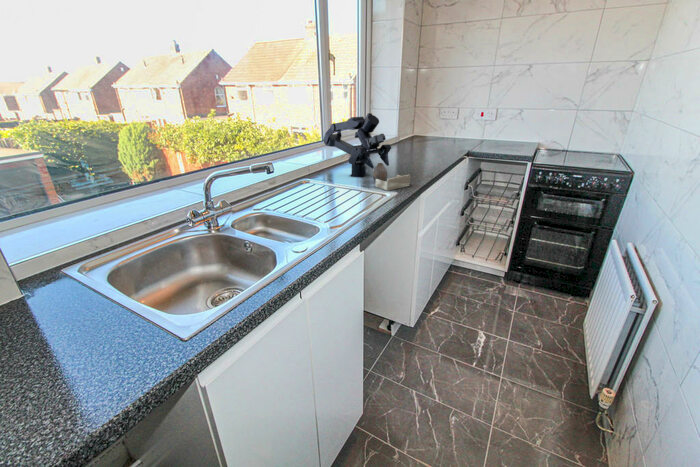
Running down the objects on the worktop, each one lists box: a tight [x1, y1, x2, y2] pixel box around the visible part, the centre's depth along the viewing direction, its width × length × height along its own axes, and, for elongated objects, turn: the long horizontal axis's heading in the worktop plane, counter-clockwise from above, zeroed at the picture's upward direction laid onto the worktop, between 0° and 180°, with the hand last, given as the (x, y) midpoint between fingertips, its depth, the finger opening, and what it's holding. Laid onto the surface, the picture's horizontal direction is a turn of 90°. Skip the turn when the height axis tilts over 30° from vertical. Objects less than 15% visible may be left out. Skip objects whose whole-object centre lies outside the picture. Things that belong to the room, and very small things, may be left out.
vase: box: [372, 162, 388, 182], centre depth 153 cm, size 7×7×9 cm
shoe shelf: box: [374, 174, 411, 192], centre depth 147 cm, size 8×13×5 cm, turn 126°
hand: (380, 166), depth 151 cm, fingers open, 9 cm apart
